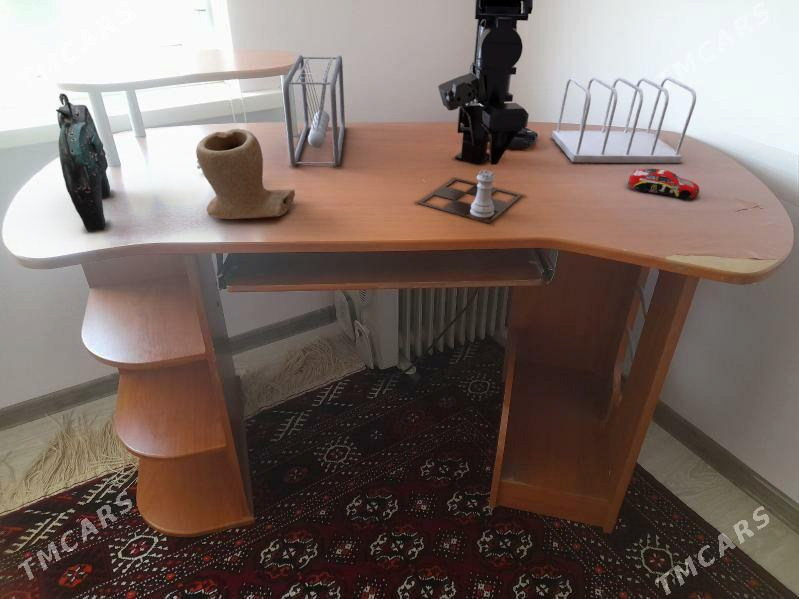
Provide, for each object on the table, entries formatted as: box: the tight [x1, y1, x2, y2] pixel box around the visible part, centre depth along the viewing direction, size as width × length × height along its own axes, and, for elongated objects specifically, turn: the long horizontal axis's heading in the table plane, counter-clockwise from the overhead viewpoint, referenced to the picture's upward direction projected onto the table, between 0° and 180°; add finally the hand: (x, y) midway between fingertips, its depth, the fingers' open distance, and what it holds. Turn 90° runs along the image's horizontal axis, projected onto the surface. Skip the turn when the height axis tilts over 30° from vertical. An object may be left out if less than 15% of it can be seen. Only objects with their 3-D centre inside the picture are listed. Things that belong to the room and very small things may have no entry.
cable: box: [488, 127, 539, 150], centre depth 134 cm, size 17×14×4 cm
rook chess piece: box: [469, 169, 496, 220], centre depth 98 cm, size 4×4×8 cm
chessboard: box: [417, 177, 523, 225], centre depth 106 cm, size 15×15×1 cm
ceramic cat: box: [55, 93, 111, 233], centre depth 94 cm, size 20×6×20 cm, turn 21°
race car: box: [627, 168, 700, 201], centre depth 109 cm, size 13×5×4 cm, turn 63°
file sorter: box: [551, 76, 697, 164], centre depth 126 cm, size 25×17×16 cm
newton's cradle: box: [282, 54, 346, 167], centre depth 125 cm, size 30×10×18 cm, turn 2°
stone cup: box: [195, 128, 296, 220], centre depth 95 cm, size 15×12×15 cm
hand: (484, 155), depth 94 cm, fingers open, 9 cm apart
